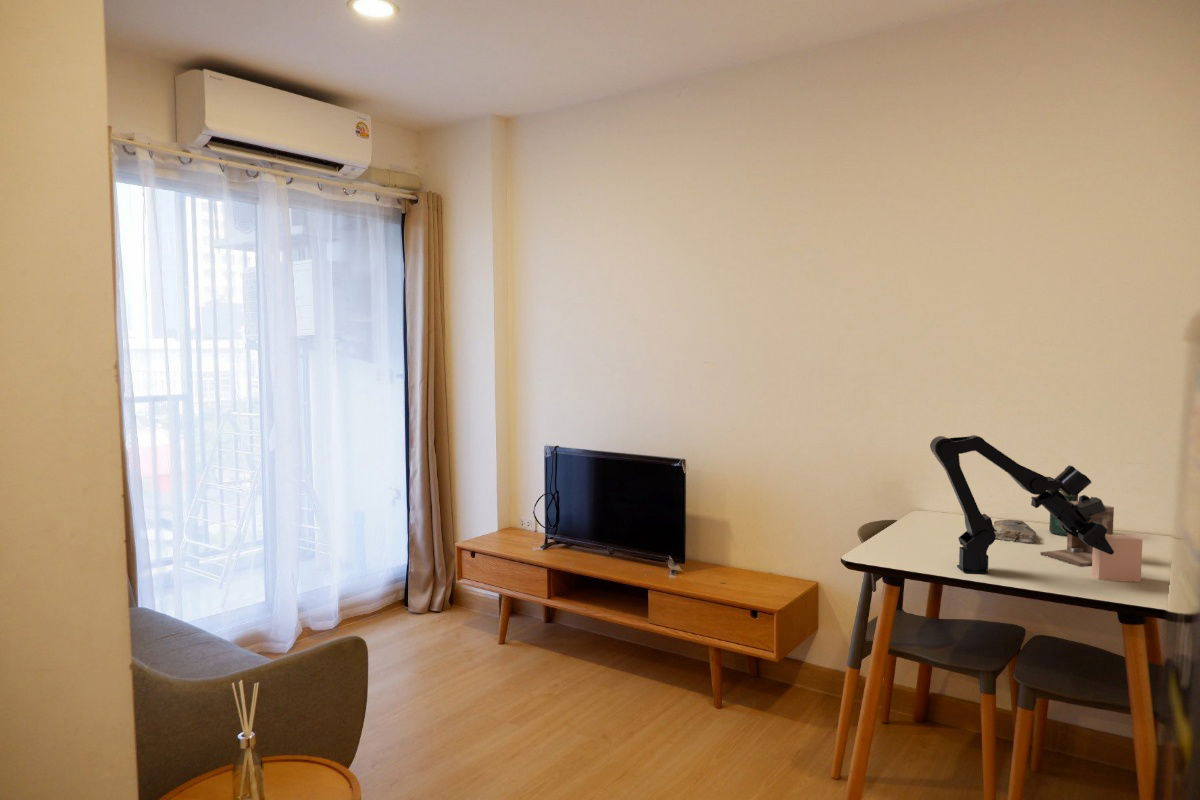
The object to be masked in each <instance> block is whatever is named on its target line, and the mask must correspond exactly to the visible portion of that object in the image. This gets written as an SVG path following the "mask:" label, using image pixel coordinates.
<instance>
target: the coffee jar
mask: <svg viewBox="0 0 1200 800" xmlns="http://www.w3.org/2000/svg"><path fill="white" fill-rule="evenodd" d="M1058 491H1059V492H1060V493H1061V494H1062V495H1063V496H1065V497H1066V498H1067V499H1068V500H1069V501H1079V494H1078V495H1077V496H1072V495H1070V496H1067V495H1065V494H1064V493H1063V492H1062V491H1061V490H1060V489H1059V490H1058ZM1048 528H1049V532H1050V533H1051V534H1055V535H1058V534H1059V535H1058V536H1062V535H1065V536H1067V534H1068V533H1067V532H1066V531H1064V530H1062V529H1061V528H1060V527H1059V526H1058V520H1057V519H1055V518H1054V517H1053V516H1052V514H1051V513H1050V512H1049V527H1048Z"/></svg>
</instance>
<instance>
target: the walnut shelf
mask: <svg viewBox="0 0 1200 800" xmlns="http://www.w3.org/2000/svg"><path fill="white" fill-rule="evenodd" d="M1070 502H1072V503H1073V504H1074V505H1075V504H1078V502H1079V500H1078V501H1070ZM1104 506H1105V508H1106V511H1105V512H1100V513H1097V514H1095V515H1092V516H1090V517H1091V518H1092V519H1091V520H1089V521H1087V523H1090V522H1098V523H1100V524H1102V525H1103V526H1104V527H1106V528H1107V529H1108V530H1107V533H1106V534H1108V535H1114V518H1115V517H1114V515H1115V511H1114V510H1115V508H1114V506H1112V505H1111V506H1110V505H1105V504H1104ZM1066 537H1067V539H1066V549H1058V550H1049V551H1040V554H1041V555H1040V556H1043V555H1044V556H1043V557H1046V556H1048V557H1047V558H1049V557H1050V559H1053V558H1054V559H1053V560H1056V559H1057V560H1056V561H1060V562H1063V563H1067V564H1071V565H1074V566H1076V567H1086V566H1092V555H1093V547H1091V546H1089V545H1087V544H1085V543H1084V542H1083V541H1082V540H1081V539H1079V538H1077V537H1075V536H1073V535H1071V534H1069V533H1068V534H1067V535H1066Z"/></svg>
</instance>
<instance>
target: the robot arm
mask: <svg viewBox="0 0 1200 800" xmlns="http://www.w3.org/2000/svg"><path fill="white" fill-rule="evenodd" d="M929 448H930V451H931V452H932V454H933V455H934V457H935V458H936V460H937V461H938V463H940V465H941V467H942V468H943V470H944V471H945V473H946V476H947V478H948V480H949V483H950V484H951V487H952V489H953V491H954V493H955V496H956V499H957V501H958V503H959V505H960V507H961V509H962V512H963V516H964V524H965V529H966V531H964V532H963V533H962V534H961V535H960V536H958V537H957V538H958V541H959V544H960V545H961V546H959V551H958V552H959V555H958V556H959V559H958V564H957V565H956V567H957V569H959V570H961V571H962V572H963V573H965V574H989V572H990V571H988V570H989V555H988V553H987V551H988V549H989V547H990V546H991V545H992V544H993V543H994V542H995V541H996V540H997V538H996V536H995V533H994V532H997V531H996V530H995V529H994V527H993V525H994V523H993V520H992V518H991V517H990V516H988V515H987V514H986V513H983V514H982V512H981V511H980V509H979V507H978V504H977V501H976V500H975V497H974V495H973V493H972V491H971V488H970V485H969V484H968V481H967V478H966V477H965V475H964V472H963V470H962V467H961V460H960V454H961V455H962V454H967V453H970V452H976V453H978V454H979V455H981V456H982V457H983V458H985V459H987V460H988V461H990V462H991V463H993V464H994V465H995V466H997V467H998V468H999V469H1001V470H1003V471H1004V472H1005V473H1007V474H1008V475H1009V476H1010V477H1011V478H1012V479H1013V481H1015V483H1017V485H1019V487H1021V489H1023V490H1025V491H1026V492H1028V493H1030V494H1031V495H1034V496H1031V504H1030V505H1031V506H1032V507H1033V508H1035V509H1038V508H1040V507H1041V506H1043V507H1044V509H1046V510H1047V511H1048V512H1049V514H1050V513H1051V514H1052V516H1053V517H1054V518H1055V519H1057V520H1058V526H1059V527H1060V528H1061V529H1062V530H1064V531H1066V532H1067V533H1069V534H1071V535H1073V536H1075V537H1077V538H1079V539H1081V540H1082V541H1083V542H1084V543H1085V544H1087V545H1089V546H1091V547H1094V548H1096V549H1098V550H1101V551H1103V552H1105V553H1108V554H1110V555H1112V554H1113V553H1114V551H1113V549H1112V548H1111V546H1110V544H1109V543H1108V541H1107V540H1106V538H1105V535H1106V533H1107V530H1108V529H1107V528H1106V527H1104V526H1103V525H1102V524H1100V523H1098V522H1090V523H1087V521H1089V520H1091V519H1092V518H1091V517H1090V516H1092V515H1095V514H1097V513H1100V512H1105V511H1106V508H1105V506H1104V505H1105V504H1104V502H1103V500H1102V499H1101V498H1098V497H1096V496H1095V497H1094V496H1091V497H1089V496H1088V495H1086V494H1082V495H1080V496H1079V494H1080V493H1081V492H1083V491H1084V490H1085V489H1086V488H1087V487H1088V486H1090V485H1091V484H1092V480H1091V479H1090V478H1089V477H1088V476H1087V475H1086V474H1083V473H1082V472H1080V470H1078V469H1077V468H1075V466H1073V465H1070V464H1069V465H1068V466H1066V467H1065V468H1064V470H1063V471H1061V472H1060V473H1059V474H1058V475H1057V476H1056V477H1055V478H1054V477H1051V476H1045V475H1043V474H1041V473H1038V472H1037V471H1035V470H1033V469H1030V468H1029V467H1025V466H1023V465H1021V464H1020V463H1018V462H1016V460H1014V459H1012V458H1011V457H1009V456H1008V455H1006V454H1004V452H1002V451H1000V449H997V448H996V447H995V446H993V445H991V444H990V443H989V442H987V441H986V440H985V439H984V438H983V437H982V436H979V435H975V434H972V435H970V436H968V435H967V436H958V437H946V436H943V435H942V436H941V435H940V436H935V437H934V438H933V439H932V440H931V442H930V444H929ZM1059 489H1060V490H1061V491H1062V492H1063V493H1064V494H1065V495H1067V496H1070V495H1072V496H1077V495H1078V501H1079V502H1078V504H1075V505H1074V504H1073V503H1072V502H1070V501H1069V500H1068V499H1067V498H1066V497H1065V496H1063V495H1062V494H1061V493H1060V492H1059V491H1058V490H1059Z"/></svg>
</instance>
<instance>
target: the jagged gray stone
mask: <svg viewBox="0 0 1200 800" xmlns="http://www.w3.org/2000/svg"><path fill="white" fill-rule="evenodd" d="M993 527H994V529H995V530H996V531H997V532H994V533H995V536H996V540H997V539H998V540H1000V541H1002V540H1004V541H1003V542H1010V541H1013V542H1012V543H1015V542H1016V541H1017V542H1016V543H1022V542H1023V543H1024V544H1029V543H1032V544H1034V543H1036V542H1037V541H1038V535H1037V532H1036V530H1034V529H1033V528H1032V527H1030V526H1029V524H1027V523H1026V522H1024V520H1018V519H1001V520H1000V519H999V520H995V521H994V522H993ZM1032 544H1031V545H1032Z"/></svg>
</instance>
